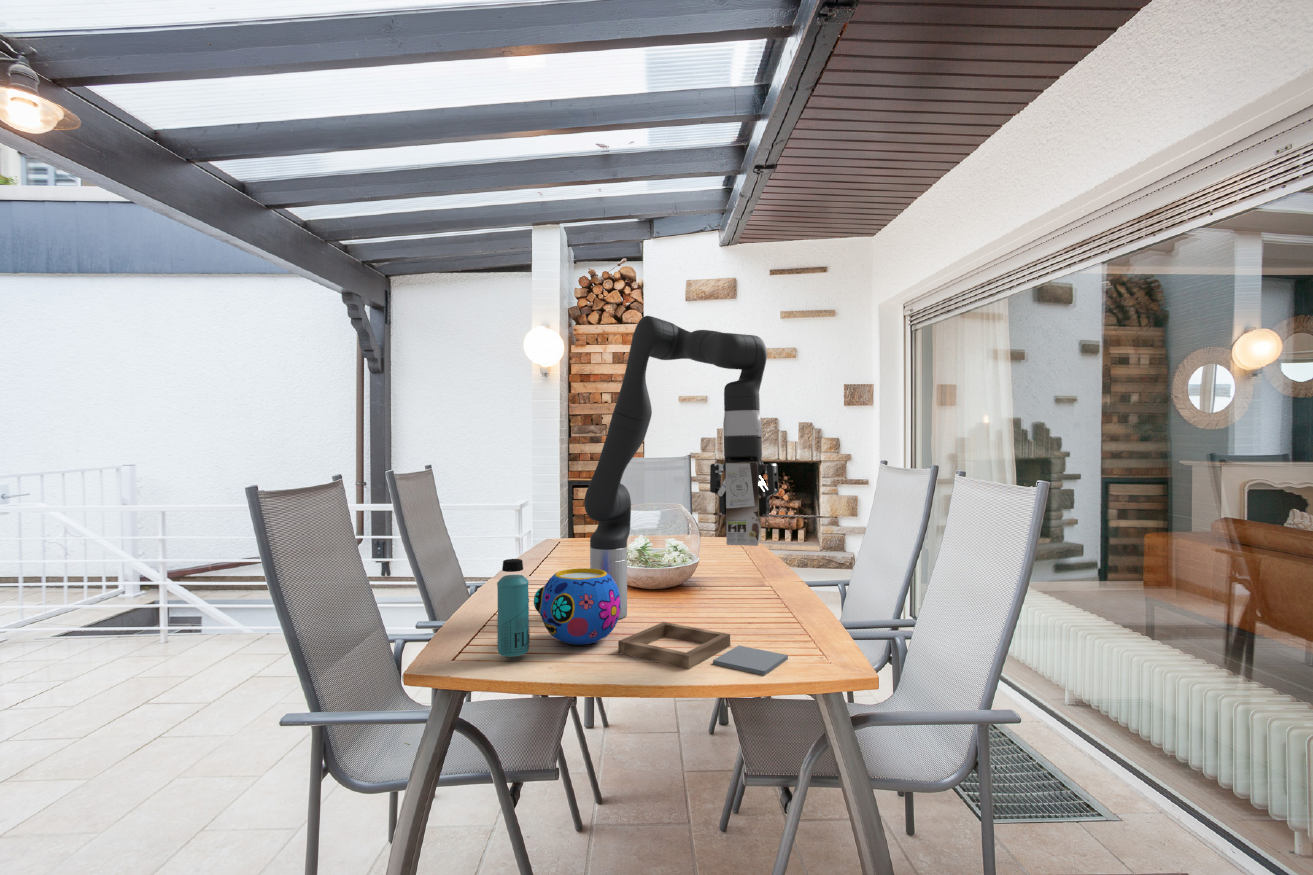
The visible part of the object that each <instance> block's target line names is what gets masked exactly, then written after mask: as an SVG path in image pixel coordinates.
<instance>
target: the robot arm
mask: <svg viewBox="0 0 1313 875" xmlns="http://www.w3.org/2000/svg"><path fill="white" fill-rule="evenodd" d="M767 351H768V349H767V346H766V343H765V341H764V340H763V339H762V338H761V337H760V336H758V335H755V334H754V335H753V334H745V333H744V334H742V333H731V332H721V331H716V330H709V329H696V330H693V331H688V330H686V329H684V328H682V327H680V326H678V325H676V324H674V323H672V322H670V321H667V320H664V319H661V318H658V317H654V316H651V315H644V316H643V317H641V319H639V321H638V323H637V324H636V327H635V329H634V332H633V334H632V338H631V342H630V347H629V352H628V353H629V354H628V357H627V358H628V359H627V362H626V366H625V372H624V377H623V379H622V383H621V386H620V390H619V393H618V397H617V400H616V403H615V406H614V408H613V410H612V411H613V412H612V415H611V419H610V420H609V421H610V422H609V425H608V430H607V434H606V437H605V440H604V443H603V446H602V450H601V452H600V456H599V459H598V463H597V464H596V465H597V466H596V467H595V470H594V472H593V474H592V477H591V479H590V482H589V485H588V486H587V489H586V492H585V495H584V501H583V502H584V504H583V505H584V510H585V513H586V515H587V516H588V518H589V519H591V520H592V521H595V522H598V525H597V526H596V527H597V528H596V529H595V530H594V532H593V533H592V534H591V536H590V538H589V569H599V570H603V571H605V572H607V573H608V574H609V575H610V576H611V577H612V578H613V579H614V581H615V583H616V585H617V587H618V590H619V594H620V599H621V606H620V614H619V619H624V618H625V617H627V616H628V540H629V539H628V538H629V536H630V532H631V518H632V517H631V514H632V502H631V500H632V499H631V496H630V491H629V490H628V488H627V487H626V486H625V485H624V484H622V483H621V481H622V478H623V475H624V473H625V471H626V468H627V467H628V465H629V464H630V462H631V461H632V460H633V457H634V456H635V455H636V453H637V452H638V450H639V449H640V447H641V446H642V444H643V443H644V440H645V438H646V435H647V432H648V430H649V429H648V428H649V425H650V423H651V419H652V412H653V411H652V410H653V408H652V403H651V399H650V396H649V391H648V385H647V380H646V376H647V375H646V374H647V366H648V363H649V358H653V359H657V360H661V361H673V360H675V361H676V360H692V361H694V362H698V363H702V364H703V363H704V364H708V365H714V366H715V367H717V368H722V369H725V370H726V369H727V370H741V371H740V374H739V377H738V379H737V380H734V381H730V382H728V383H726V385H725V386H724V389H723V404H724V405H723V411H724V414H723V415H724V416H723V456H724V457H723V458H724V462H723V464H722V463H719V462H716V463H711V464H710V465H709V467H710V468H709V470H710V471H709V473H710V474H709V475H710V476H709V478H710V479H709V492H710V493H712V494H716V495H717V496H718V504H719V505H718V506H719V507H718V509H719V512H720V513H721V515H722V516H726V477H725V478H724V480H723V481H722V474H723V472H724V473H725V474H726V464H725V463H731V462H758V470H759V479H760V482H759V484H758V486H759V495H760V498H759V516H760V517H761V518H765V517H768V514H770V510H771V509H770V504H771V502H770V497H771V496H774V495H776V494H779V492H780V485H779V467H778V464H777V463H776V462H775V463H771V462H770V463H767V464H765V463H764V462H763V460H762V458H763V457H762V456H763V449H762V448H763V446H762V444H763V443H762V442H763V441H762V438H763V437H762V436H763V435H762V433H763V428H762V419H761V412H760V409H761V407H760V405H761V404H760V402H761V401H760V389H761V385H762V380H763V377H764V372H765V368H766V364H767V359H768V352H767ZM763 471H764V474H765V475H766V476H767V477H766V478H767V485H766V482H765V481H764V479H763V478H762V476H761V474H762V473H763ZM619 619H618V620H619Z"/></svg>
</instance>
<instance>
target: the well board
mask: <svg viewBox="0 0 1313 875" xmlns="http://www.w3.org/2000/svg"><path fill="white" fill-rule="evenodd" d="M666 636H667V637H672V638H676V639H681V640H687V641H691V642H695V643H699V644H700V643H701V644H700V645H698V646H696V647H694V648H692V649H690V650H689V651H687V652H685V651H680V650H676V649H670V648H666V647H661V646H657V645H654V644H653V645H652V644H651V643H652V642H655V641H658V640H660V639H661V638H663V637H666ZM617 645H618V648H617V653H618V654H620V653H622V654H621V655H624V654H625V656H629V657H633V656H635V658H637V657H638V658H639V659H642V658H643V660H645V661H652V662H656V663H660V664H664V665H668V666H673V667H678V668H682V669H686V670H691V669H692V668H693V667H696V666H697V665H699V664H701V663H702V662H704V661H705V660H708V659H710V658H711V657H714V656H715V655H717V654H718V653H720V652H722V651H723V650H725V649H728V648H730V647H731V634H730V633H726V632H720V631H716V630H715V631H714V630H710V629H704V628H699V627H693V626H689V625H683V624H677V623H671V622H667V621H662V622H660V623H658V624H656V625H654V626H653V625H652V626H651V627H649V628H646V629H644V630H641V631H639V632H636V633H634V634H632V635H629V636H626V637H625V638H622V639H620V640H618V642H617Z"/></svg>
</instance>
